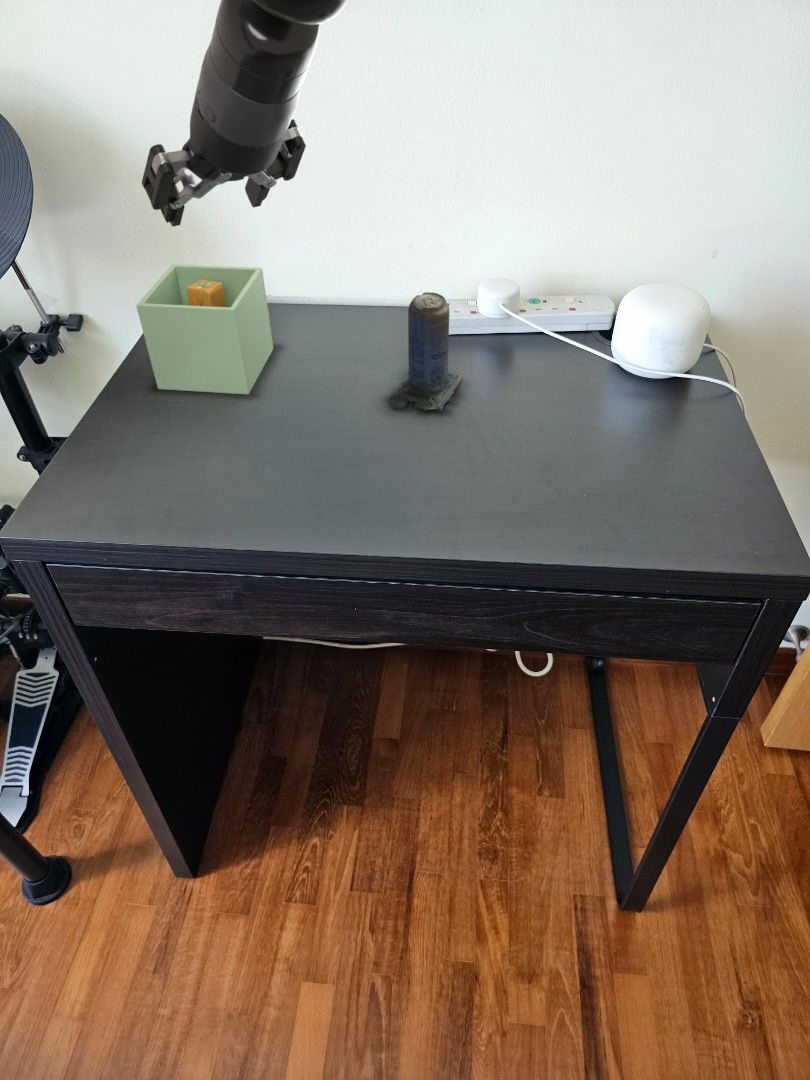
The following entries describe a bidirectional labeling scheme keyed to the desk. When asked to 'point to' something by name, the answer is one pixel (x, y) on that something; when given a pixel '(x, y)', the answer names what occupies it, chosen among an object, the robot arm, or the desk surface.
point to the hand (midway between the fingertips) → (212, 207)
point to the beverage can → (427, 356)
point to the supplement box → (206, 294)
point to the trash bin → (207, 330)
